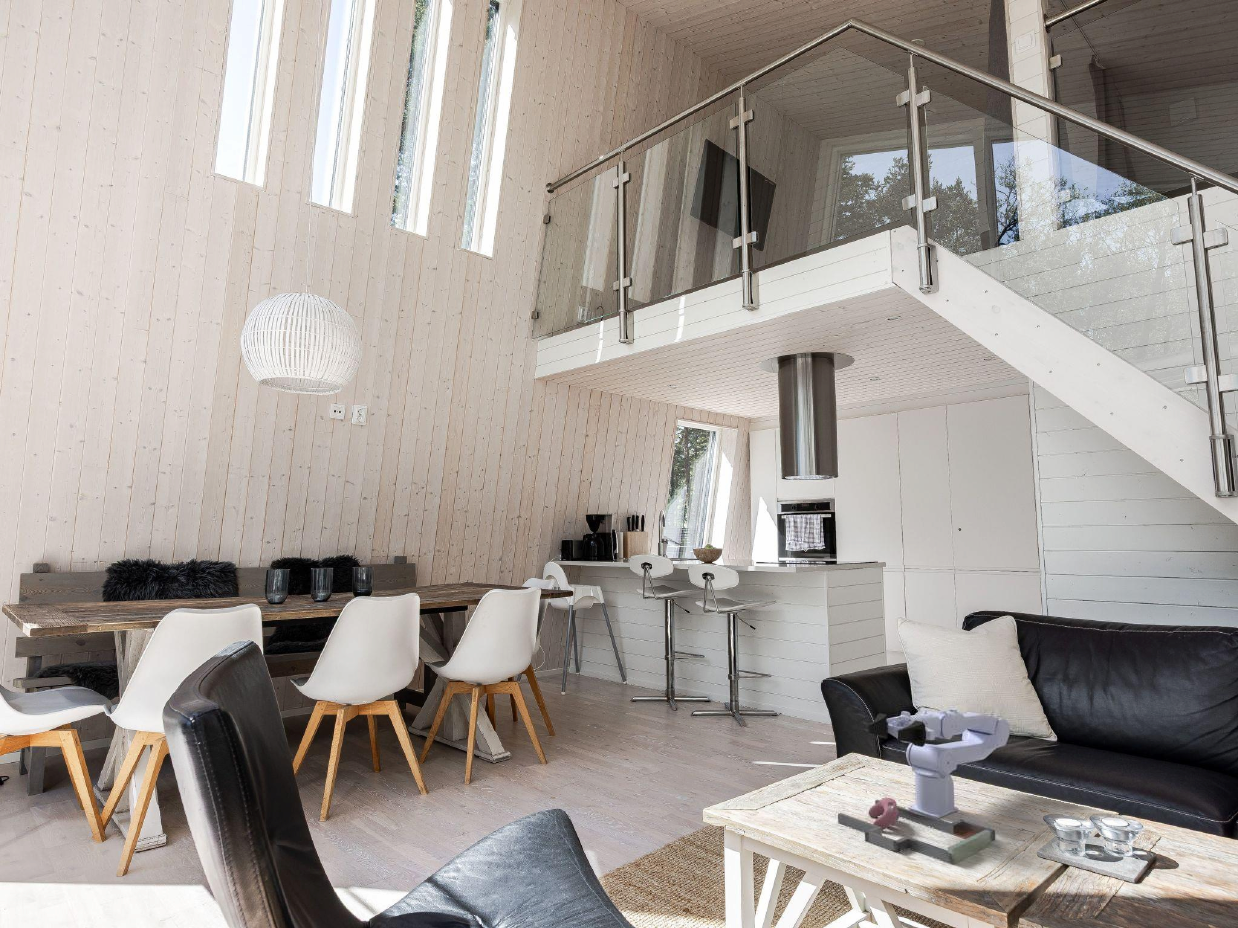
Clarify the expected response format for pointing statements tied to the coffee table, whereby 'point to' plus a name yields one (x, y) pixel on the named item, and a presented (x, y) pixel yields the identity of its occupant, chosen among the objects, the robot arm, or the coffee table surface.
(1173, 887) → the coffee table surface
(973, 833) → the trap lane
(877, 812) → the video game controller
